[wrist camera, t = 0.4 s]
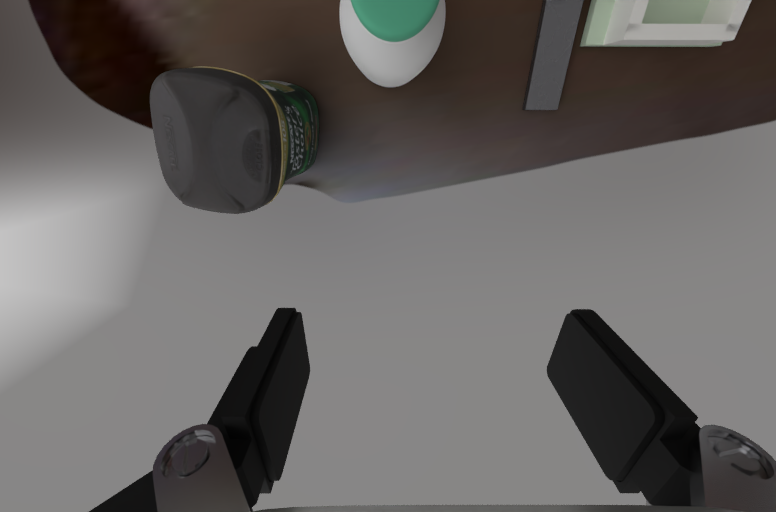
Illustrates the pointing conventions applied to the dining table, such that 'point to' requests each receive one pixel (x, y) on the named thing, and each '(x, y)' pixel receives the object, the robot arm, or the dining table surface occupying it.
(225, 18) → the dining table surface
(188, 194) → the coffee jar
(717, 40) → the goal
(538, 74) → the rail
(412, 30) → the milk bottle
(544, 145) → the dining table surface
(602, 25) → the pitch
